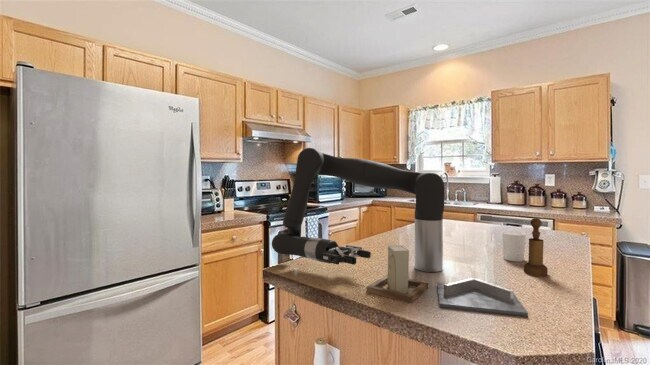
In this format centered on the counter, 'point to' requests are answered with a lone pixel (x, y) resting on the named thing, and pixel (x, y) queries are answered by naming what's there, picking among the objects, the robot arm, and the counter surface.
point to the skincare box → (398, 268)
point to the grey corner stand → (479, 297)
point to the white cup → (513, 245)
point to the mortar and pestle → (535, 252)
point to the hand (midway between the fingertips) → (363, 257)
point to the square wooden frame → (408, 297)
